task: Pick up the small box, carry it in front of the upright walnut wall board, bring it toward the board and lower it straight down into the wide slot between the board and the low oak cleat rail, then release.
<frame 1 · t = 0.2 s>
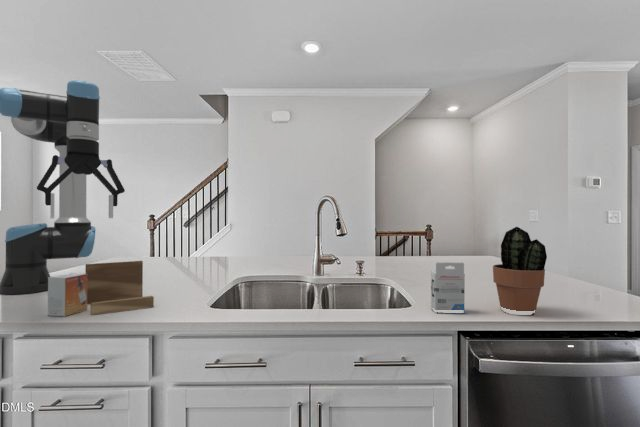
hand: (82, 218, 106), 26 cm above the counter, fingers open, 13 cm apart
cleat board: (118, 304, 118), on the counter
ink box: (447, 312, 114), on the counter
potted plant: (517, 312, 114), on the counter
small box: (68, 313, 109), on the counter
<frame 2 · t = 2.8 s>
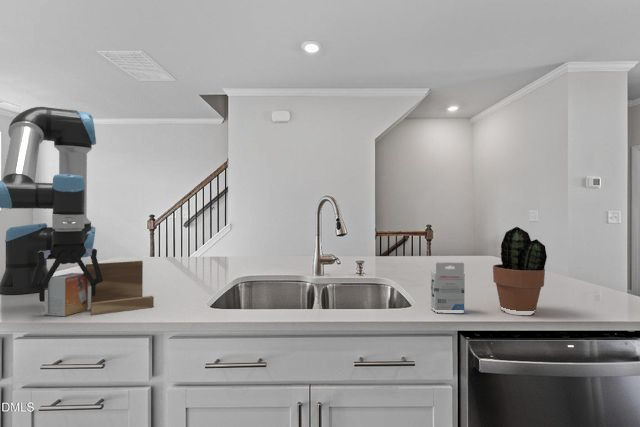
hand: (68, 310, 109), 1 cm above the counter, fingers closed on small box, 9 cm apart
small box: (68, 313, 109), on the counter, touching gripper
everything else where it was.
when the fingers open (2 cm above the counter, at t = 11.1 s): small box drops 1 cm, on the counter.
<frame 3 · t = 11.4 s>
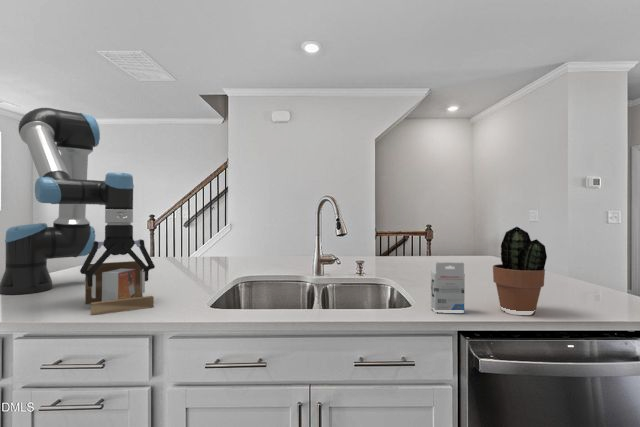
hand: (118, 294, 118), 3 cm above the counter, fingers open, 13 cm apart
small box: (119, 305, 118), on the counter
everything else where it was.
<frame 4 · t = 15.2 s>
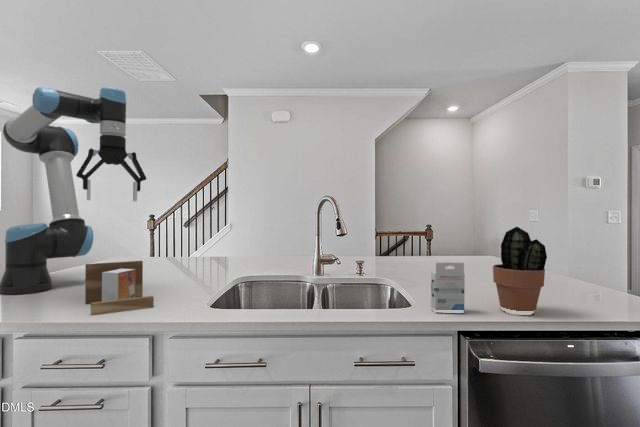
hand: (112, 200, 128), 32 cm above the counter, fingers open, 13 cm apart
nothing on the counter moved.
at the end: small box inside the target area on the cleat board (0.1 cm from its centre), point 0.0 cm above the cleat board's base; small box tilted 0°; the gripper is holding nothing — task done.
